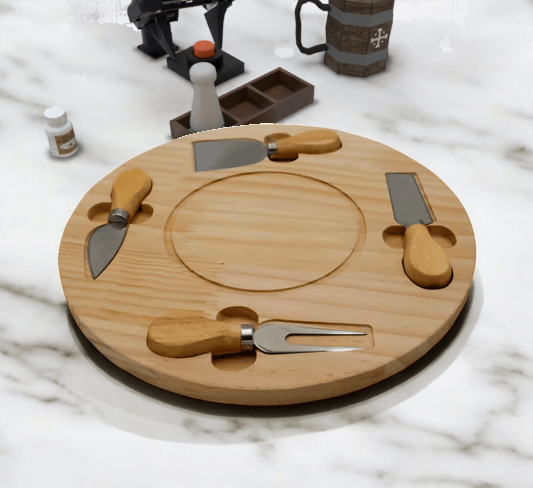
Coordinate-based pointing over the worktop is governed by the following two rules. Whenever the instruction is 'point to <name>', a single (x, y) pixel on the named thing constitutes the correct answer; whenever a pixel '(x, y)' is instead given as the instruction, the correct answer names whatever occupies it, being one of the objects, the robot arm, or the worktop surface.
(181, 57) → the control block
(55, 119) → the pill bottle
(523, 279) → the worktop surface
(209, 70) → the salt shaker
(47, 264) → the worktop surface
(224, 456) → the worktop surface
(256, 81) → the brown compartment tray
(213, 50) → the button
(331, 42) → the mug
